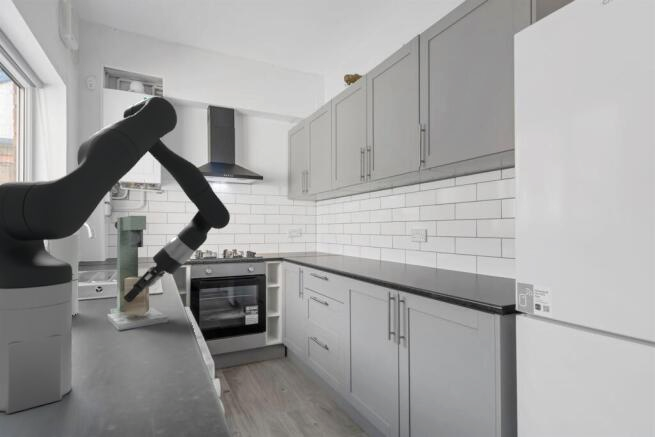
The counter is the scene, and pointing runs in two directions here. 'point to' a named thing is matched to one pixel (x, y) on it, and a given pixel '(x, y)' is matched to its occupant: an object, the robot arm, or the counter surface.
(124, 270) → the press
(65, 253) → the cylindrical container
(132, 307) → the block
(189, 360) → the counter surface
